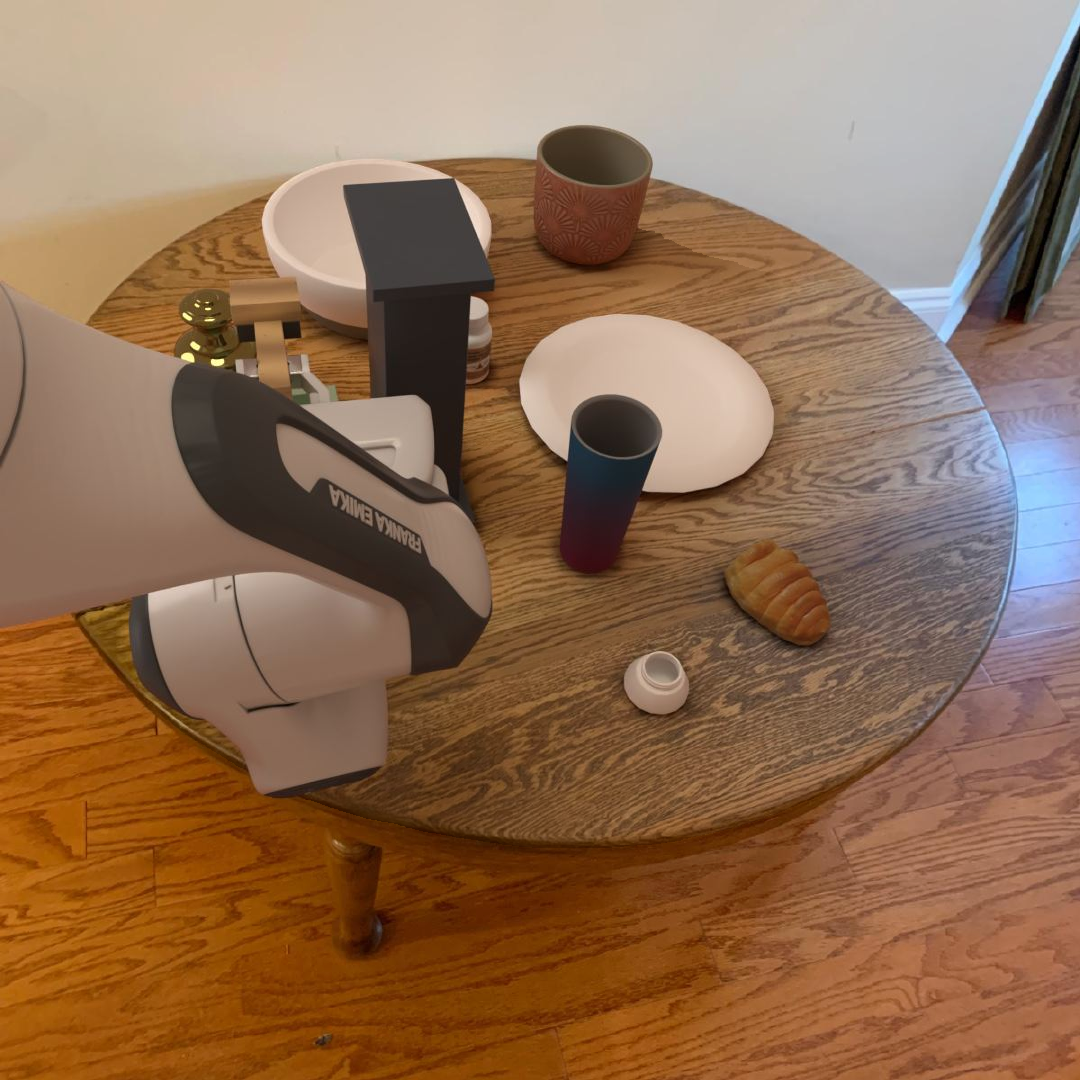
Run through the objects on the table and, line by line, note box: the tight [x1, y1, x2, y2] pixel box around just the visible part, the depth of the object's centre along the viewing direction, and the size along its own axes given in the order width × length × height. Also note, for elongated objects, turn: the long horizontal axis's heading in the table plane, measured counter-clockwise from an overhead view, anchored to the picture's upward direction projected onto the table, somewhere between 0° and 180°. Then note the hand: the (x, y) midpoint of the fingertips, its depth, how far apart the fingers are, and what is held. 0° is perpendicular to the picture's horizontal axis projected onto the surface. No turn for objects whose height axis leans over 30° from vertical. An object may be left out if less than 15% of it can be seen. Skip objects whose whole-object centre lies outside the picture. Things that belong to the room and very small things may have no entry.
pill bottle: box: [466, 295, 493, 385], centre depth 93 cm, size 4×4×8 cm
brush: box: [228, 276, 303, 401], centre depth 70 cm, size 16×5×3 cm, turn 14°
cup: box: [558, 394, 662, 575], centre depth 78 cm, size 7×7×15 cm
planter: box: [533, 124, 654, 266], centre depth 107 cm, size 12×12×11 cm
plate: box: [518, 313, 775, 495], centre depth 95 cm, size 25×25×2 cm
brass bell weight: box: [173, 288, 257, 372], centre depth 88 cm, size 7×7×10 cm
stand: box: [343, 177, 496, 528], centre depth 76 cm, size 8×12×26 cm, turn 16°
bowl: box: [261, 158, 493, 341], centre depth 100 cm, size 22×22×8 cm
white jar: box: [623, 650, 690, 715], centre depth 74 cm, size 5×3×5 cm
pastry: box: [723, 538, 832, 646], centre depth 80 cm, size 9×7×4 cm
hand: (272, 361), depth 68 cm, fingers closed on brush, 2 cm apart
